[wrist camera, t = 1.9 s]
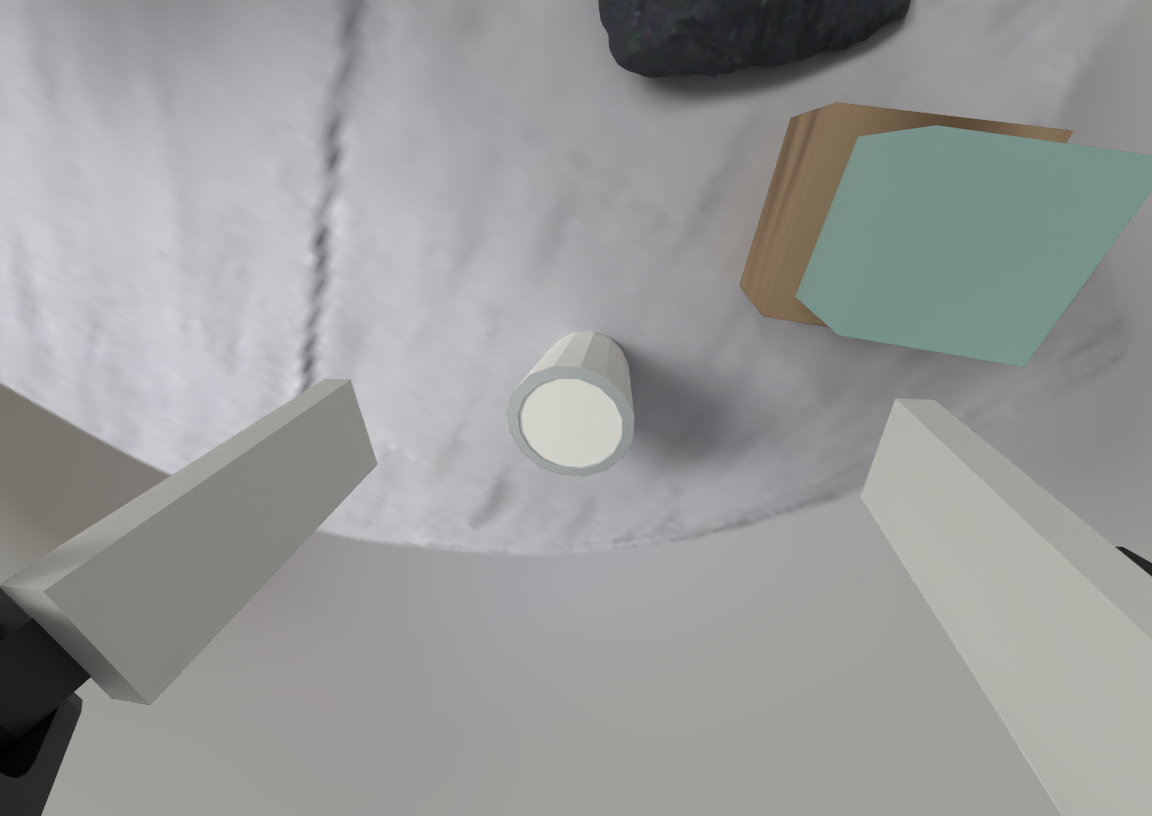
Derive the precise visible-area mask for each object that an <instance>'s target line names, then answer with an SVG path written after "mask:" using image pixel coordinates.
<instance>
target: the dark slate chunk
mask: <svg viewBox="0 0 1152 816" xmlns="http://www.w3.org/2000/svg"><path fill="white" fill-rule="evenodd" d="M909 5H910V0H599V11H600V18H601V22H602V24H603V26H604V28H605V29H606V31H607V33H608V36H609V48H610V51H611V53H612V55H613V57H614V59H615V60H616V62H617V63H618V64H619V65H620V66H621V67H623V68H625V69H626V70H628V71H631V72H634V73H637V74H640V75H642V76H645V77H665V76H669V75H690V74H704V75H708V76H716V75H718V74H724V73H731V72H733V71H735V70H738V69H744V68H746V67H747V66H748V65H749V66H775V65H782V64H786V63H789V62H792V61H797V60H801V59H804V58H806V57H811V56H813V55H815V54H816V53H818V52H819V51H820V50H822V49H823V48H825V47H827V46H828V47H829V48H830V49H831V50H832V51H836V50H844V49H847V48H848V47H850V46H851V45H853V44H855V43H857V42H859V41H863V40H866V39H867V38H869V37H870V36H871V35H872V34H873V33H874V32H876V31H877V30H878V29H879V28H880V27H881V26H883V25H885V24H887V23H889V22H890V21H892V20H894V19H897V18H903V19H904V17H905V15H906V13H907V11H908V8H909Z"/></svg>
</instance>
